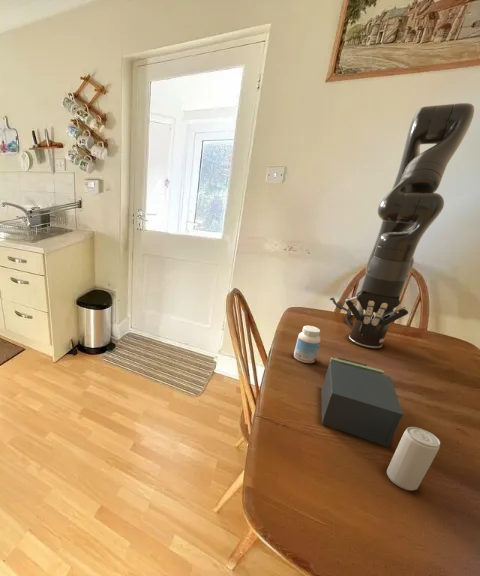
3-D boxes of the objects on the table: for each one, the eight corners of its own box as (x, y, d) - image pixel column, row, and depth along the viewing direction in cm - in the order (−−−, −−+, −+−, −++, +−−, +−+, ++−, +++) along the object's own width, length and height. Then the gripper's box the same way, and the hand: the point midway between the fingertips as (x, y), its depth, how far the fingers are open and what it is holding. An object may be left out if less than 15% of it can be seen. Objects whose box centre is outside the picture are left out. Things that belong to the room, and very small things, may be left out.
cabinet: (321, 389, 89) (330, 360, 86) (378, 406, 83) (390, 376, 79) (321, 424, 77) (332, 392, 74) (388, 447, 71) (403, 414, 67)
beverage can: (409, 474, 65) (431, 429, 60) (423, 495, 60) (448, 449, 56) (381, 467, 66) (400, 423, 62) (392, 488, 62) (414, 442, 58)
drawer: (324, 369, 96) (330, 348, 94) (371, 382, 91) (380, 359, 88) (325, 409, 81) (333, 384, 78) (382, 428, 75) (393, 402, 72)
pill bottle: (318, 364, 100) (327, 334, 96) (297, 362, 101) (305, 332, 97) (310, 354, 106) (318, 325, 102) (290, 352, 107) (297, 323, 103)
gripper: (418, 275, 78) (394, 336, 84) (351, 267, 84) (334, 323, 91) (426, 284, 72) (400, 349, 78) (354, 274, 79) (335, 334, 85)
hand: (364, 335), depth 84 cm, fingers closed
